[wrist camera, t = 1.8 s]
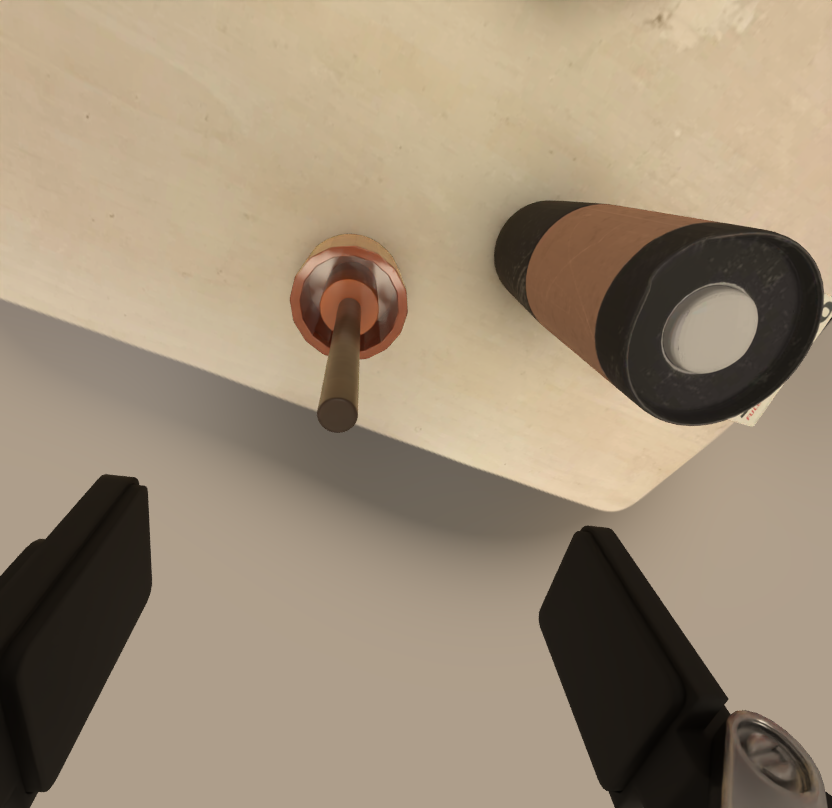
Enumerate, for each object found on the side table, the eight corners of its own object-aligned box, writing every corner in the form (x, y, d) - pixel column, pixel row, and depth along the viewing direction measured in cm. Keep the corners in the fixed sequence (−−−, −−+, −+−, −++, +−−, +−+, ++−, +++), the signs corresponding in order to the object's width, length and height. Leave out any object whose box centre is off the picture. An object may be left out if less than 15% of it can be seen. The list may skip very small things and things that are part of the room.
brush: (316, 289, 34) (262, 422, 16) (347, 250, 33) (327, 346, 15) (355, 320, 35) (346, 476, 17) (386, 284, 34) (410, 409, 16)
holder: (282, 290, 34) (267, 312, 29) (343, 211, 32) (339, 219, 27) (359, 350, 37) (358, 380, 31) (420, 280, 35) (430, 300, 29)
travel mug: (576, 306, 37) (773, 433, 19) (482, 299, 36) (597, 426, 18) (602, 201, 34) (870, 236, 16) (499, 191, 33) (660, 215, 15)
